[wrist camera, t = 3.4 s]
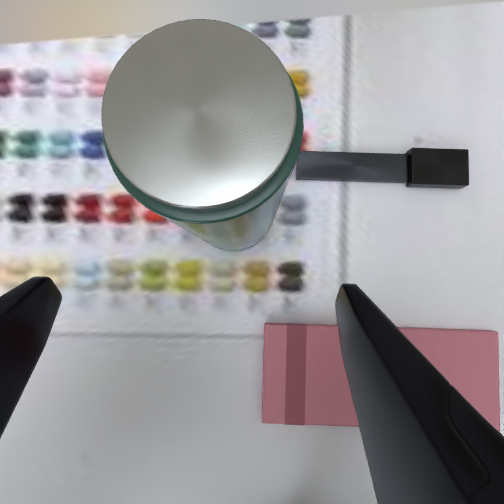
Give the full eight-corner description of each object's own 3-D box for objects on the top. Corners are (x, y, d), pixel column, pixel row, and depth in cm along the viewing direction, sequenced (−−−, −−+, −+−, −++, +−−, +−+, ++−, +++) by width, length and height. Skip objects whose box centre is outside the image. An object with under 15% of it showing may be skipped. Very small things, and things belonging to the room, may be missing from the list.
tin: (272, 252, 20) (305, 223, 7) (191, 250, 20) (82, 216, 7) (274, 173, 21) (310, 10, 8) (195, 171, 21) (96, 4, 8)
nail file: (461, 188, 20) (469, 185, 20) (295, 183, 20) (297, 180, 20) (460, 153, 21) (468, 148, 20) (296, 148, 21) (298, 144, 20)
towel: (493, 427, 19) (500, 432, 19) (261, 419, 19) (261, 423, 19) (491, 330, 20) (499, 332, 19) (264, 322, 20) (264, 324, 19)
